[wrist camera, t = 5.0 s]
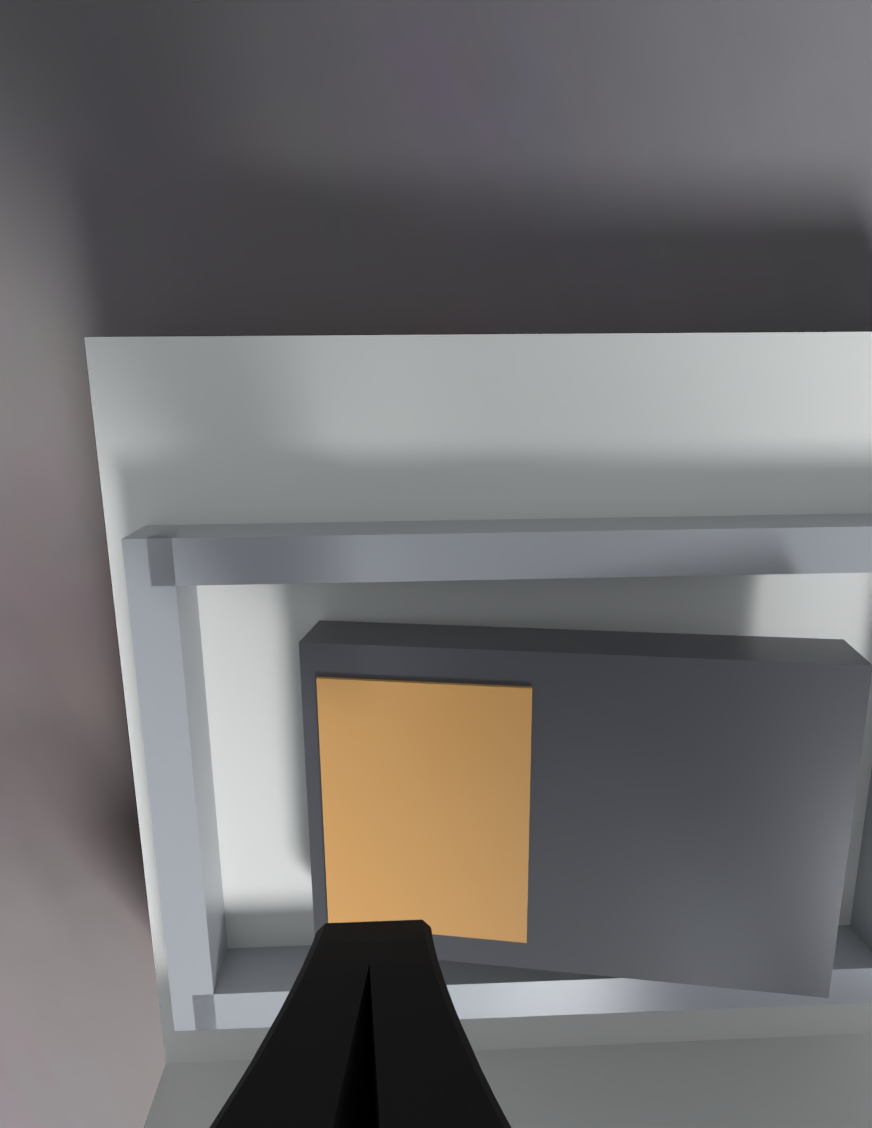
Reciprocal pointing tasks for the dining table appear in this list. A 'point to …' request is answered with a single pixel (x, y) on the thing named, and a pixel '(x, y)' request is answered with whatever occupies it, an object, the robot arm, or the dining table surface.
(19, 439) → the dining table surface
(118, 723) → the dining table surface
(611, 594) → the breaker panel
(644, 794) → the block
